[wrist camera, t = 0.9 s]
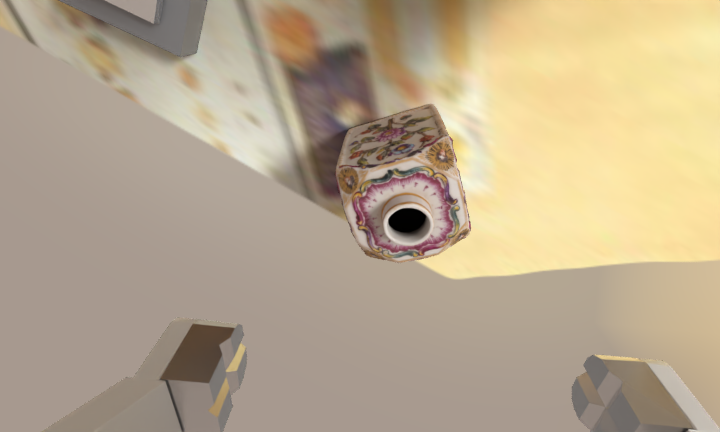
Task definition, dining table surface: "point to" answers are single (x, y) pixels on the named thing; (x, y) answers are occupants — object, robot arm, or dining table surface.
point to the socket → (171, 34)
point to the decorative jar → (402, 186)
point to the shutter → (141, 8)
